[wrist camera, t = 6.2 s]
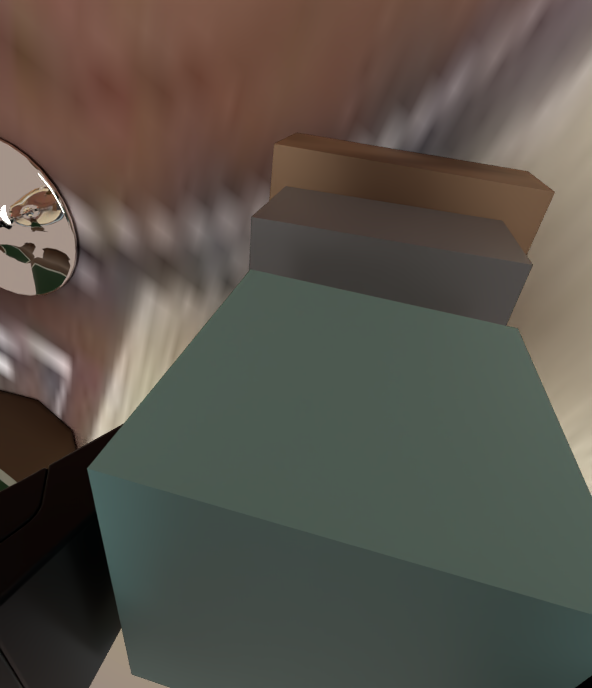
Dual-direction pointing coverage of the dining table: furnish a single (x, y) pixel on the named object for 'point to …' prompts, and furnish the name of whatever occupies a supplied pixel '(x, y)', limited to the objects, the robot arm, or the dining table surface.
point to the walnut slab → (412, 181)
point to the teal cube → (347, 504)
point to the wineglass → (32, 228)
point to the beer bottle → (29, 438)
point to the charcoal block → (391, 252)
